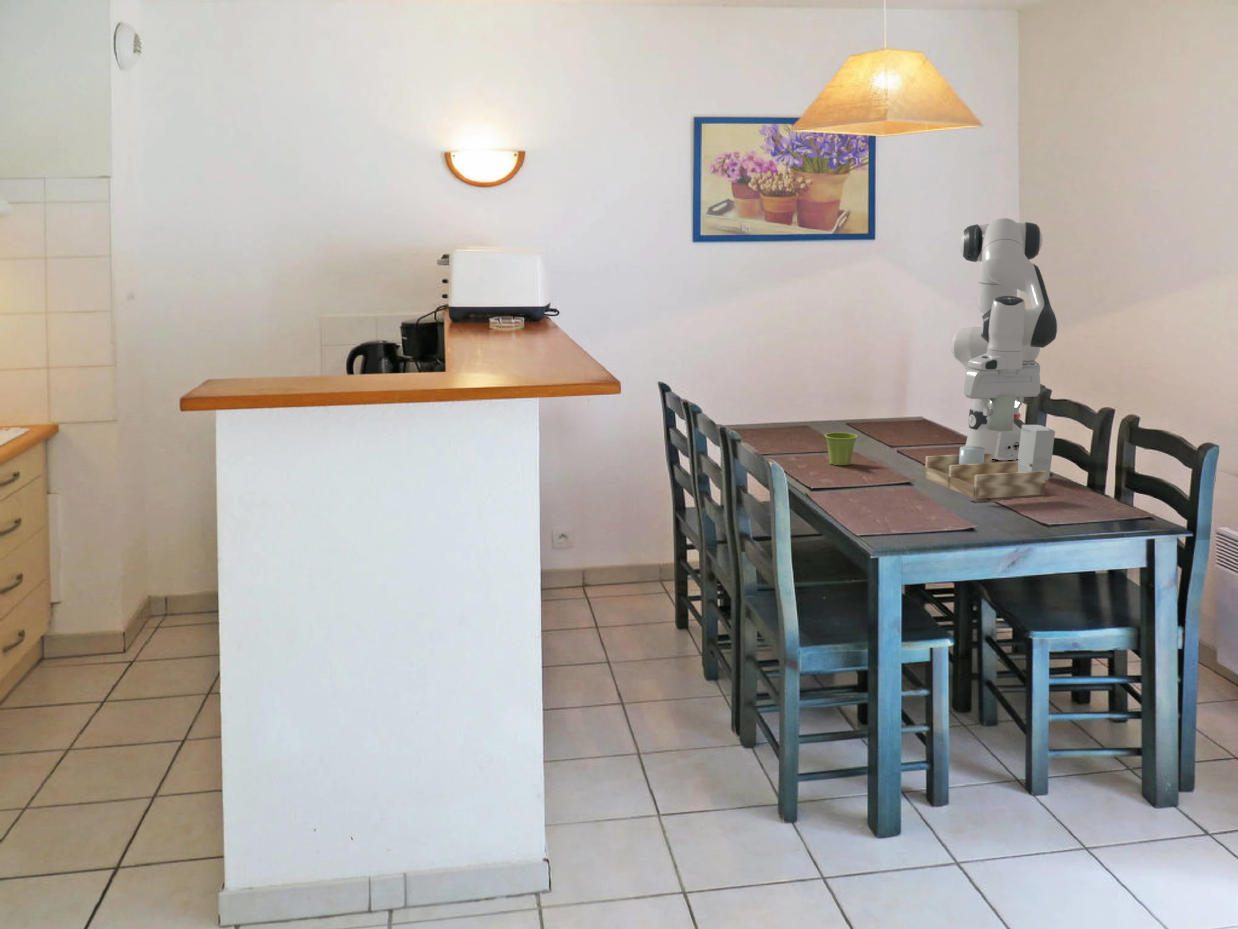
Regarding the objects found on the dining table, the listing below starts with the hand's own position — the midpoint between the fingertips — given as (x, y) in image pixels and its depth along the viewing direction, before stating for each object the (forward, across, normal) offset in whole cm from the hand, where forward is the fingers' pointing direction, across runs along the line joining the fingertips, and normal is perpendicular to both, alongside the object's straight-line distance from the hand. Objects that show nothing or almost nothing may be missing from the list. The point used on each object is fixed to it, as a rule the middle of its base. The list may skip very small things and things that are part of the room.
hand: (1000, 414), depth 286 cm
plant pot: (+21, +22, -46) cm, 55 cm away
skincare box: (+21, -21, -14) cm, 33 cm away
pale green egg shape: (+4, 0, 0) cm, 4 cm away
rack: (+21, 0, -6) cm, 22 cm away
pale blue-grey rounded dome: (+20, 0, -12) cm, 23 cm away
